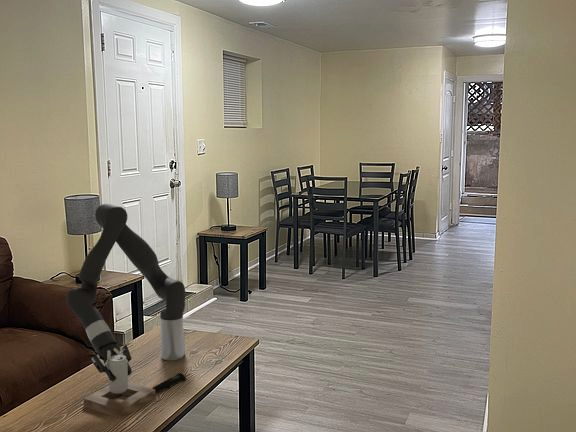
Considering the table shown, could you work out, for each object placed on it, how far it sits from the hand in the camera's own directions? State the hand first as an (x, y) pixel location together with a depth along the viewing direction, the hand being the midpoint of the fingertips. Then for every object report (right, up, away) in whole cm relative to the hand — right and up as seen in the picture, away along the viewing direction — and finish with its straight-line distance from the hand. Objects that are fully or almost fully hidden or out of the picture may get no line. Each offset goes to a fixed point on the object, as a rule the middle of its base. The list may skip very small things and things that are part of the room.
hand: (122, 377), depth 198 cm
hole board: (-1, -9, +2) cm, 10 cm away
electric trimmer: (+13, -8, +16) cm, 22 cm away
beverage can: (-2, -5, +2) cm, 6 cm away
